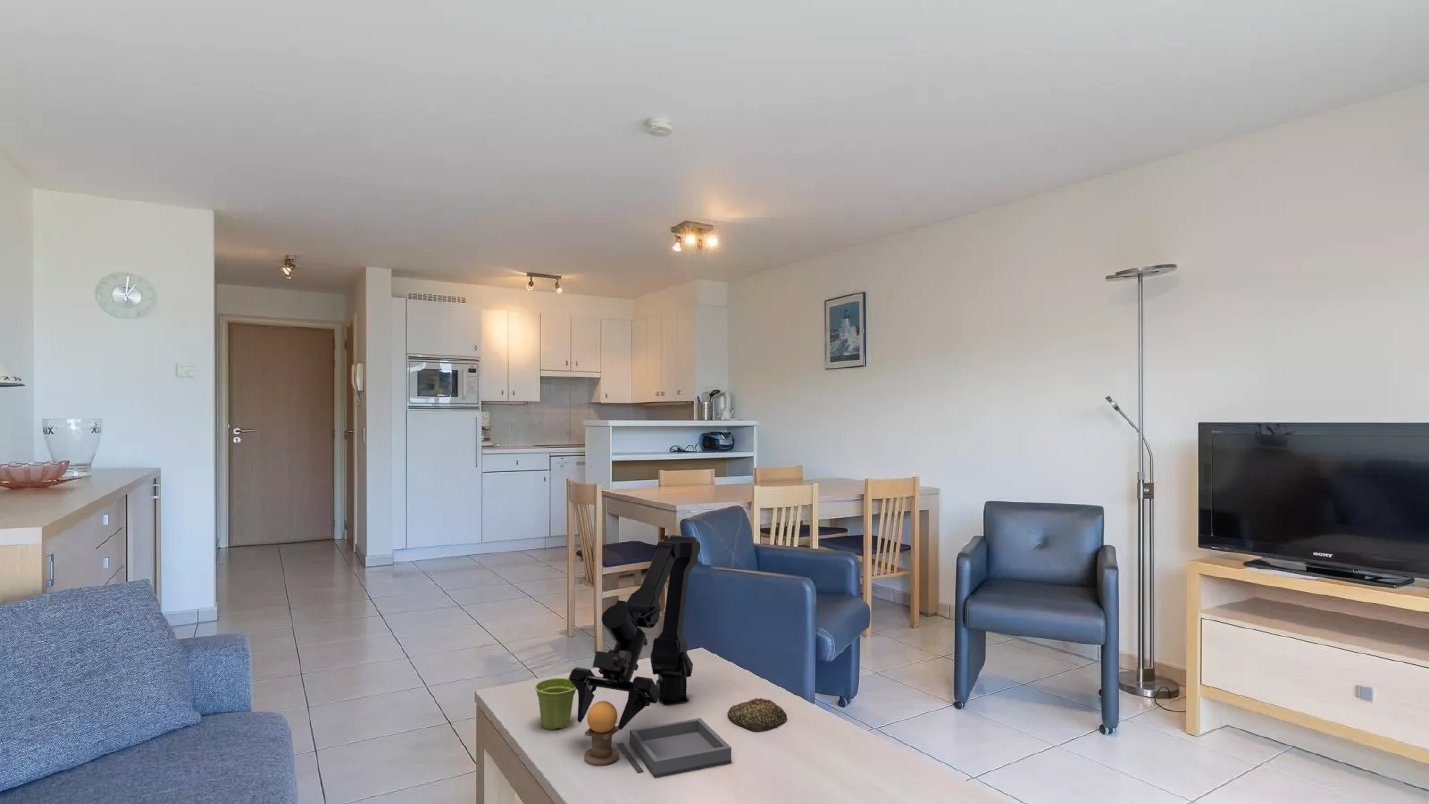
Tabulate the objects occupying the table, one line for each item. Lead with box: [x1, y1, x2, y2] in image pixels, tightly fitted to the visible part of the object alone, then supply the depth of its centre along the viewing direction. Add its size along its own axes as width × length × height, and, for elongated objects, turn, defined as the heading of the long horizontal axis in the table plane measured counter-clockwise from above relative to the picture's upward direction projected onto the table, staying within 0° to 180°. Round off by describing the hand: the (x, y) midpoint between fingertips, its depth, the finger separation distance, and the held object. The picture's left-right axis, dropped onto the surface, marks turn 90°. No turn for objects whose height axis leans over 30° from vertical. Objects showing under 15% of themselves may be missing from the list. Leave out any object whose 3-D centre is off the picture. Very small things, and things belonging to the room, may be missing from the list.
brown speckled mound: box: [726, 697, 788, 732], centre depth 171 cm, size 13×12×5 cm
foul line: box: [616, 741, 644, 774], centre depth 151 cm, size 1×14×1 cm, turn 24°
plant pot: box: [534, 677, 577, 730], centre depth 167 cm, size 9×9×9 cm
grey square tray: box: [628, 717, 732, 779], centre depth 153 cm, size 16×16×3 cm
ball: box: [586, 700, 618, 733], centre depth 151 cm, size 6×6×6 cm
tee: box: [583, 725, 620, 767], centre depth 151 cm, size 7×7×6 cm
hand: (599, 725), depth 150 cm, fingers open, 9 cm apart
